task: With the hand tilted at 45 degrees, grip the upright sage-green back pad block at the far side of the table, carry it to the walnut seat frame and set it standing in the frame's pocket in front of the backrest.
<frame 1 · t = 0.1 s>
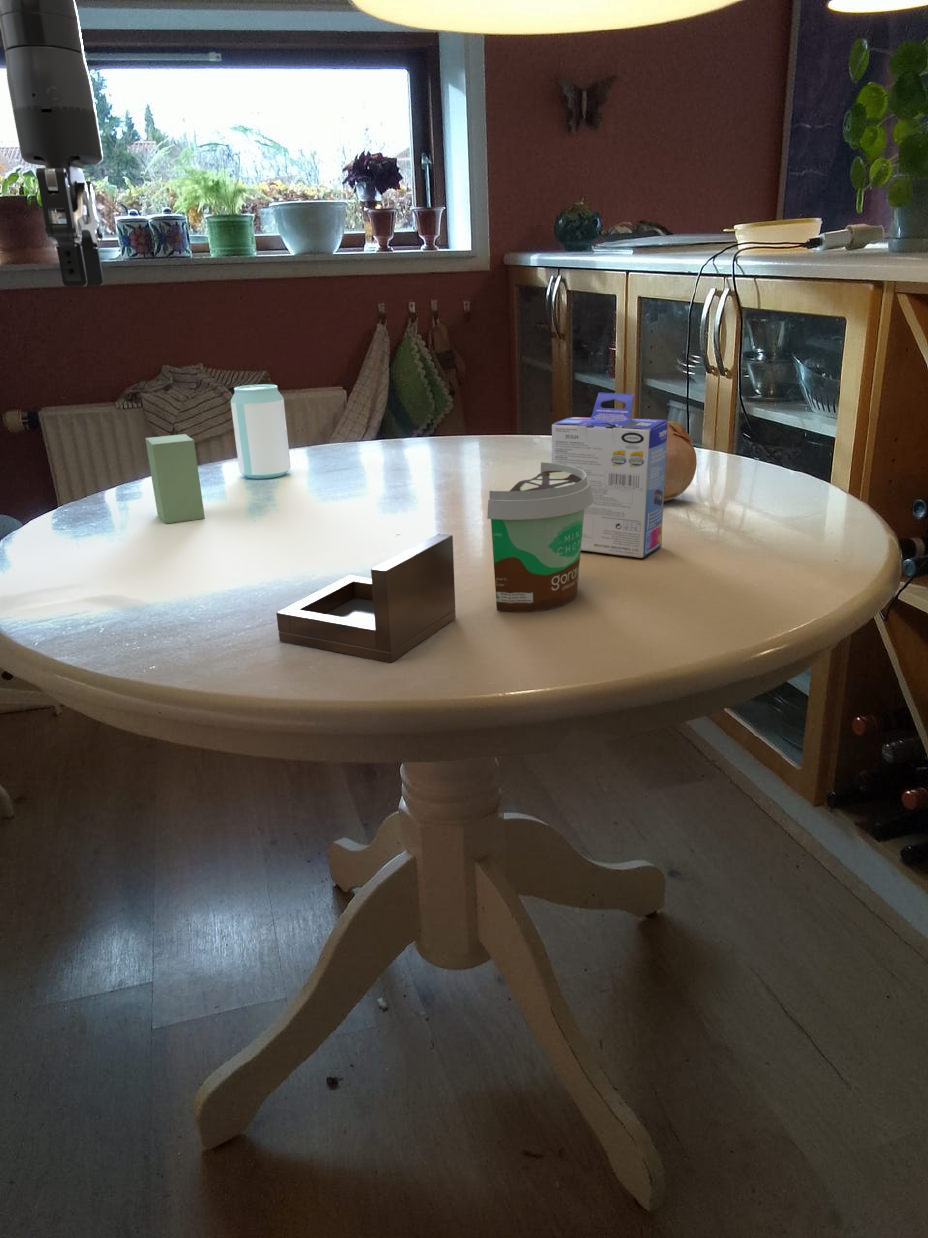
hand: (85, 286, 93), 25 cm above the table, tool pointing down, fingers open, 8 cm apart
can: (265, 475, 125), on the table
ink cartridge box: (606, 548, 87), on the table
seat frame: (369, 629, 69), on the table
food container: (552, 598, 74), on the table
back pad: (181, 516, 104), on the table
onion: (652, 501, 104), on the table
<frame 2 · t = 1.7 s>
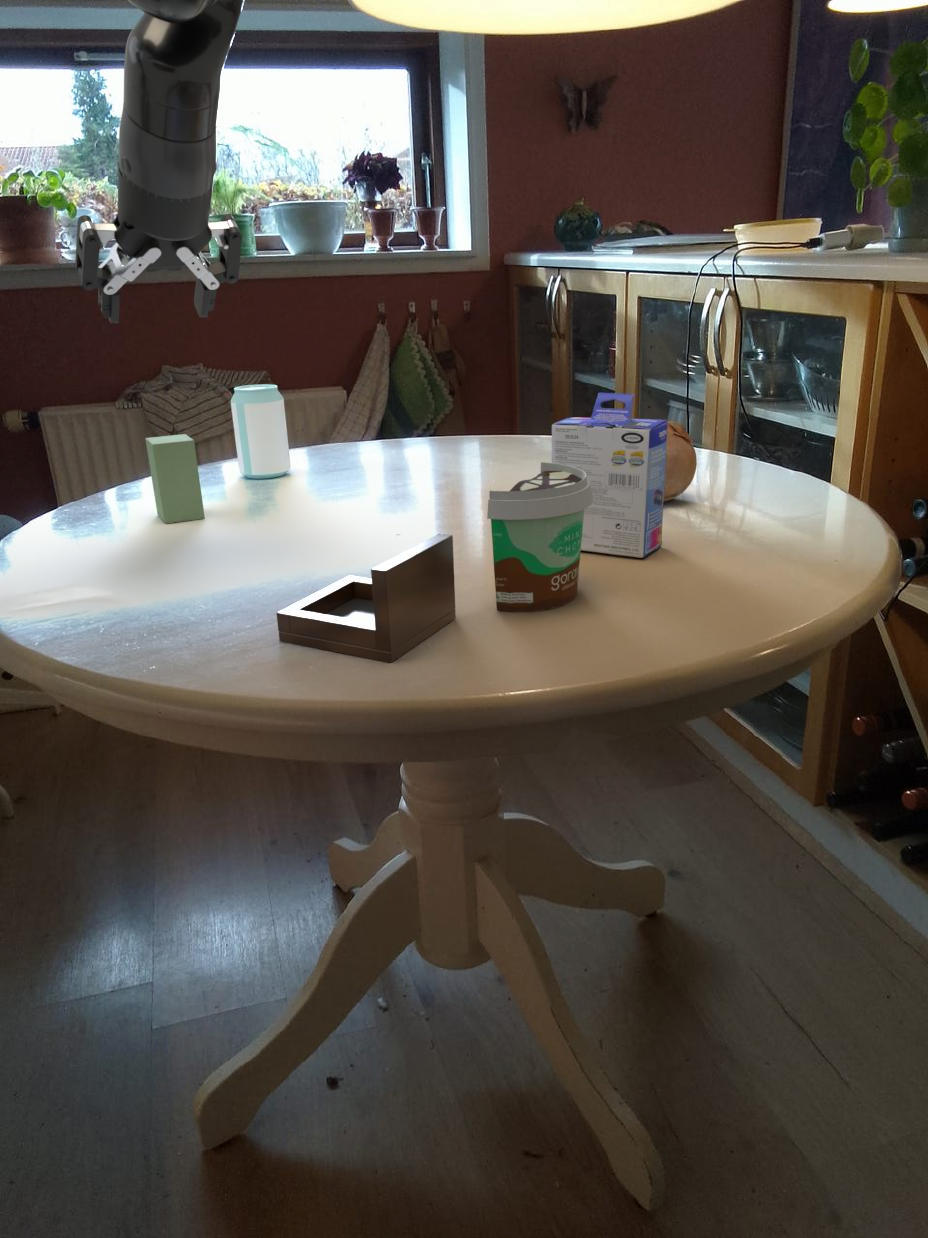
hand: (156, 313, 87), 23 cm above the table, tool tilted 45°, fingers open, 8 cm apart
nothing on the table moved.
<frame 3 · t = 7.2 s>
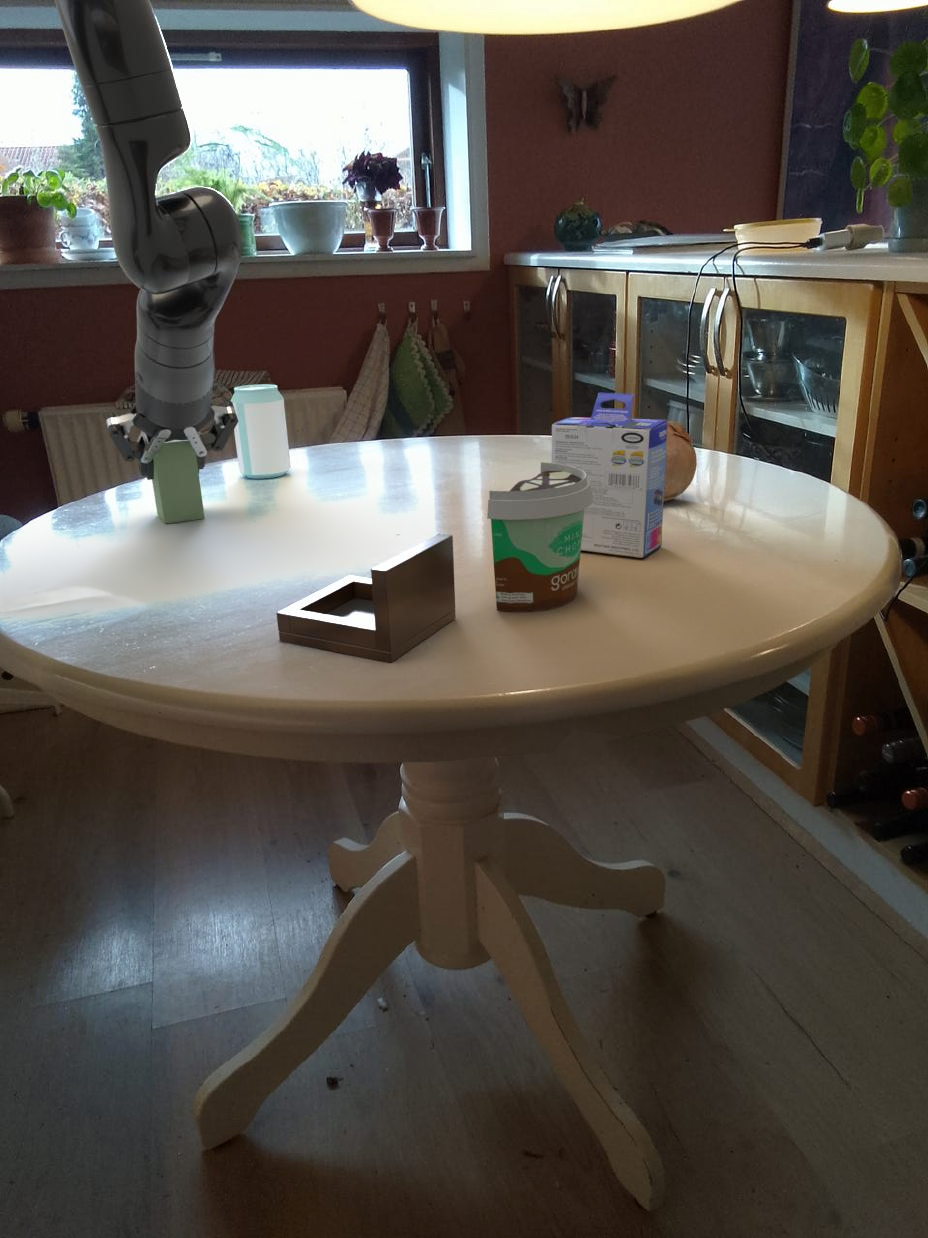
hand: (171, 470, 104), 5 cm above the table, tool tilted 45°, fingers closed on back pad, 4 cm apart
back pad: (180, 516, 104), on the table, touching gripper
everything else where it was.
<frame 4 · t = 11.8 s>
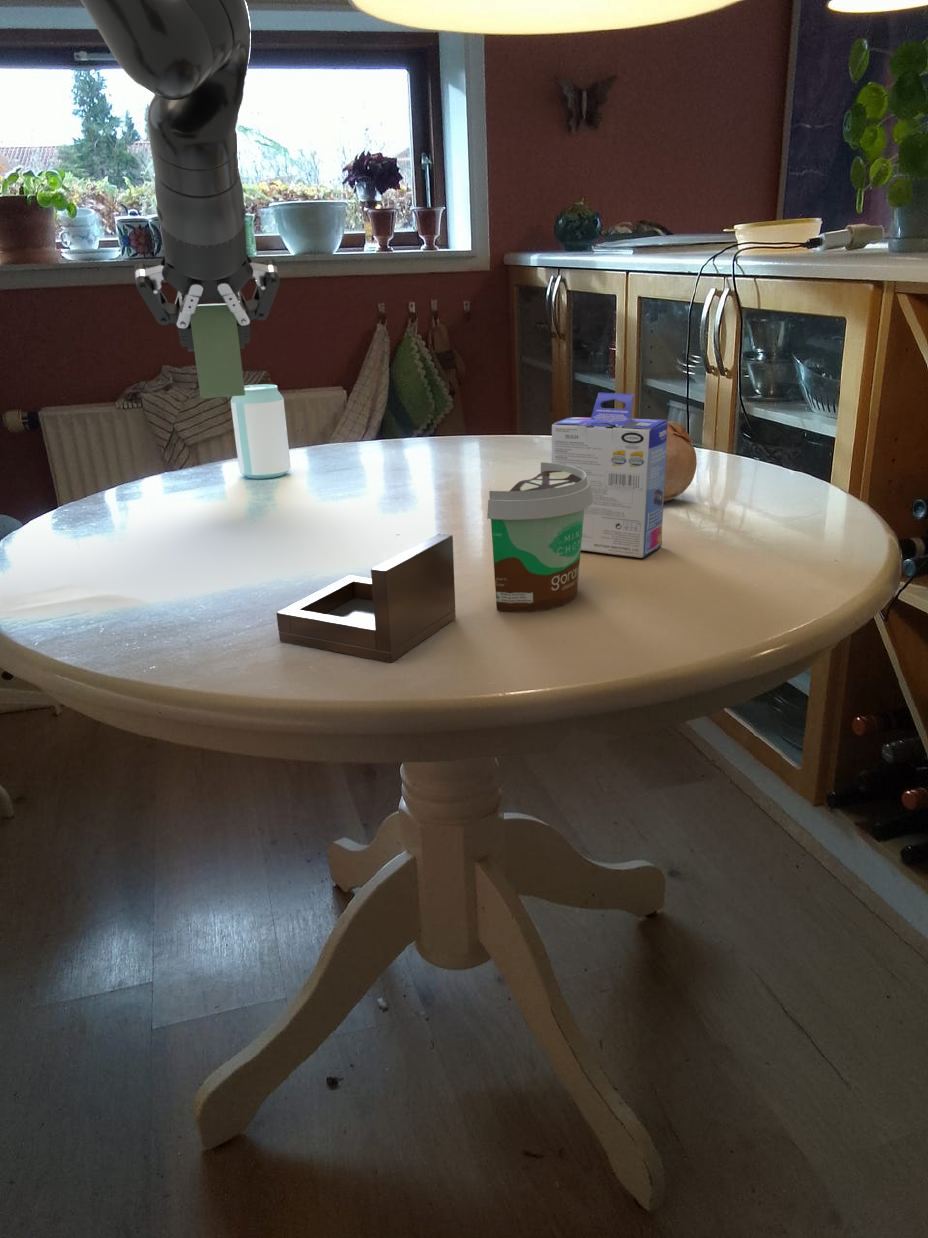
hand: (215, 342, 95), 19 cm above the table, tool tilted 45°, fingers closed on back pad, 4 cm apart
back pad: (222, 393, 95), point 14 cm above the table, touching gripper
everything else where it was.
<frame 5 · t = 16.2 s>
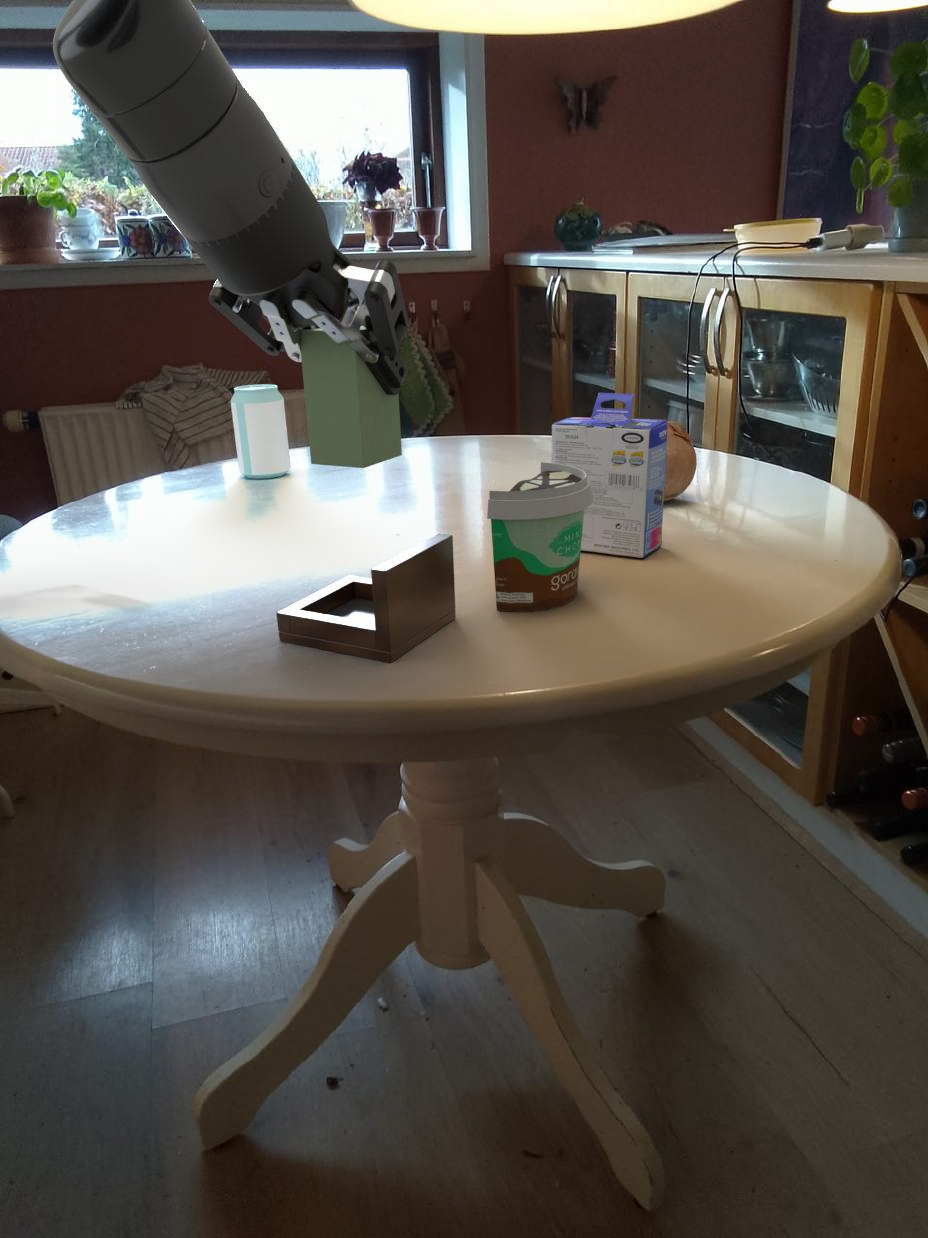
hand: (366, 383, 64), 18 cm above the table, tool tilted 45°, fingers closed on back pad, 4 cm apart
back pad: (357, 459, 64), point 13 cm above the table, touching gripper
everything else where it was.
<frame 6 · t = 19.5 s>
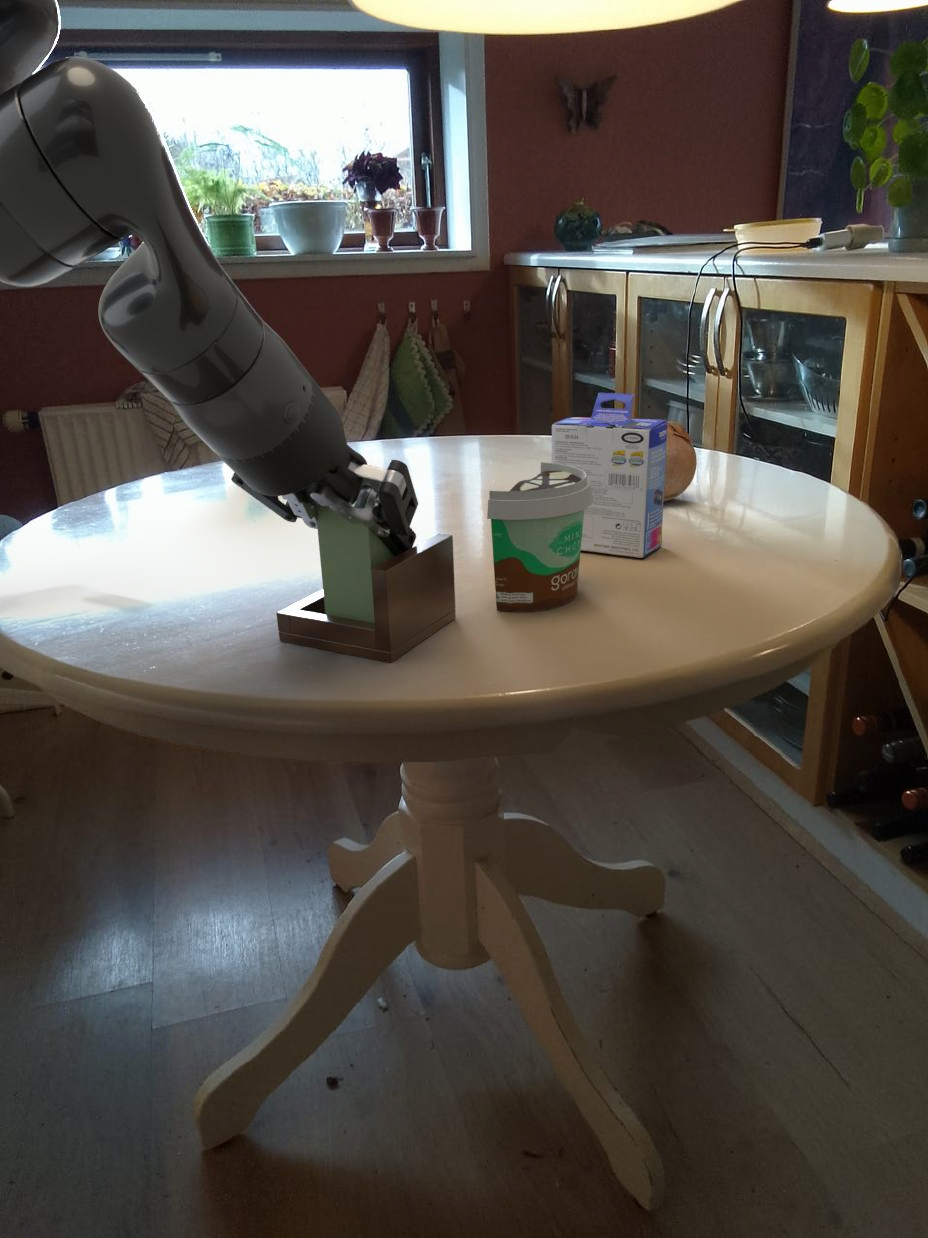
hand: (377, 543, 68), 6 cm above the table, tool tilted 45°, fingers closed on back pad, 4 cm apart
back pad: (369, 614, 68), point 1 cm above the table, touching gripper
everything else where it was.
when the fingers open (7 cm above the table, at t = 25.4 s): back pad drops 1 cm, resting on seat frame.
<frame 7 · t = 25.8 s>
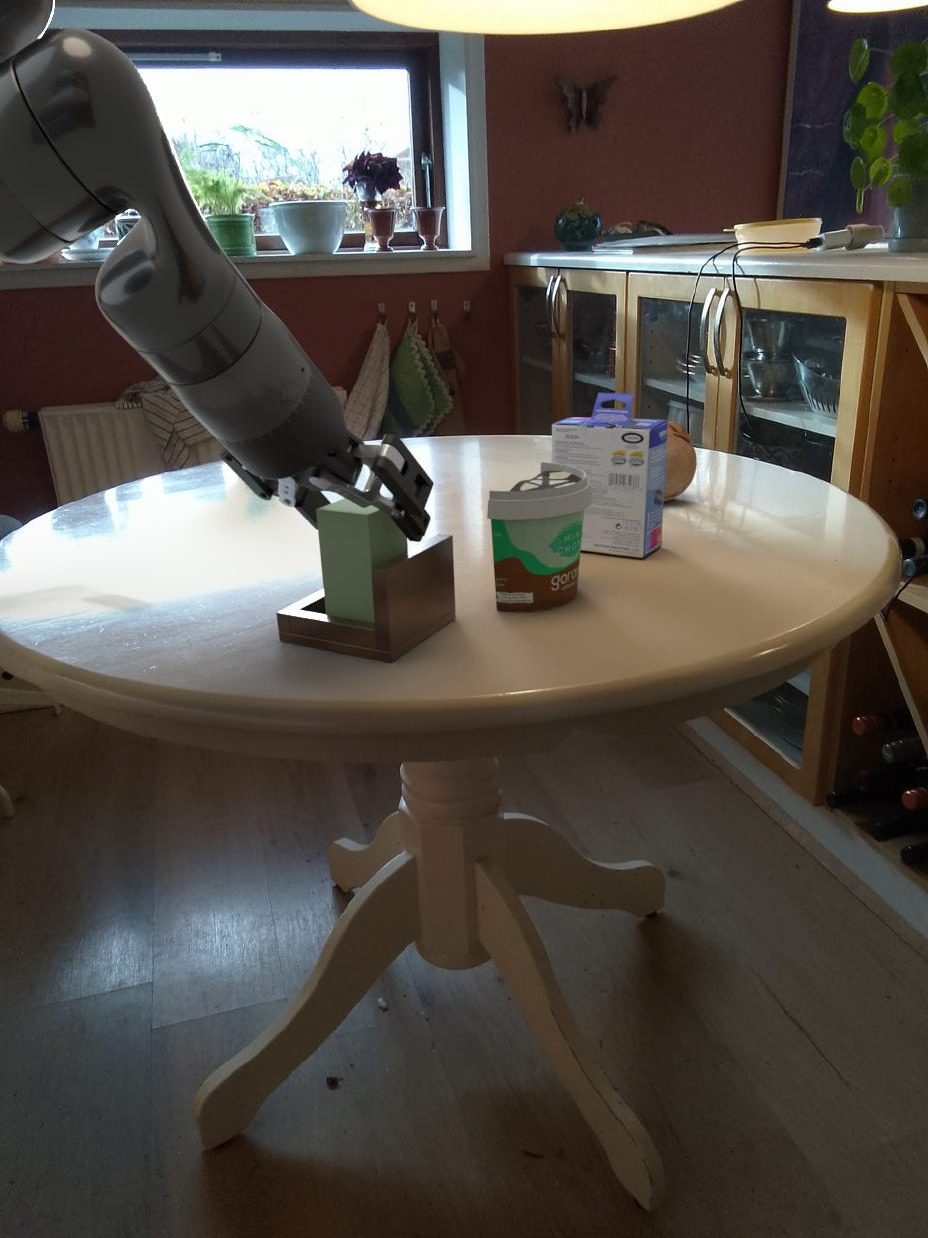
hand: (372, 525, 67), 8 cm above the table, tool tilted 45°, fingers open, 8 cm apart
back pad: (369, 618, 68), point 1 cm above the table, touching seat frame
everything else where it was.
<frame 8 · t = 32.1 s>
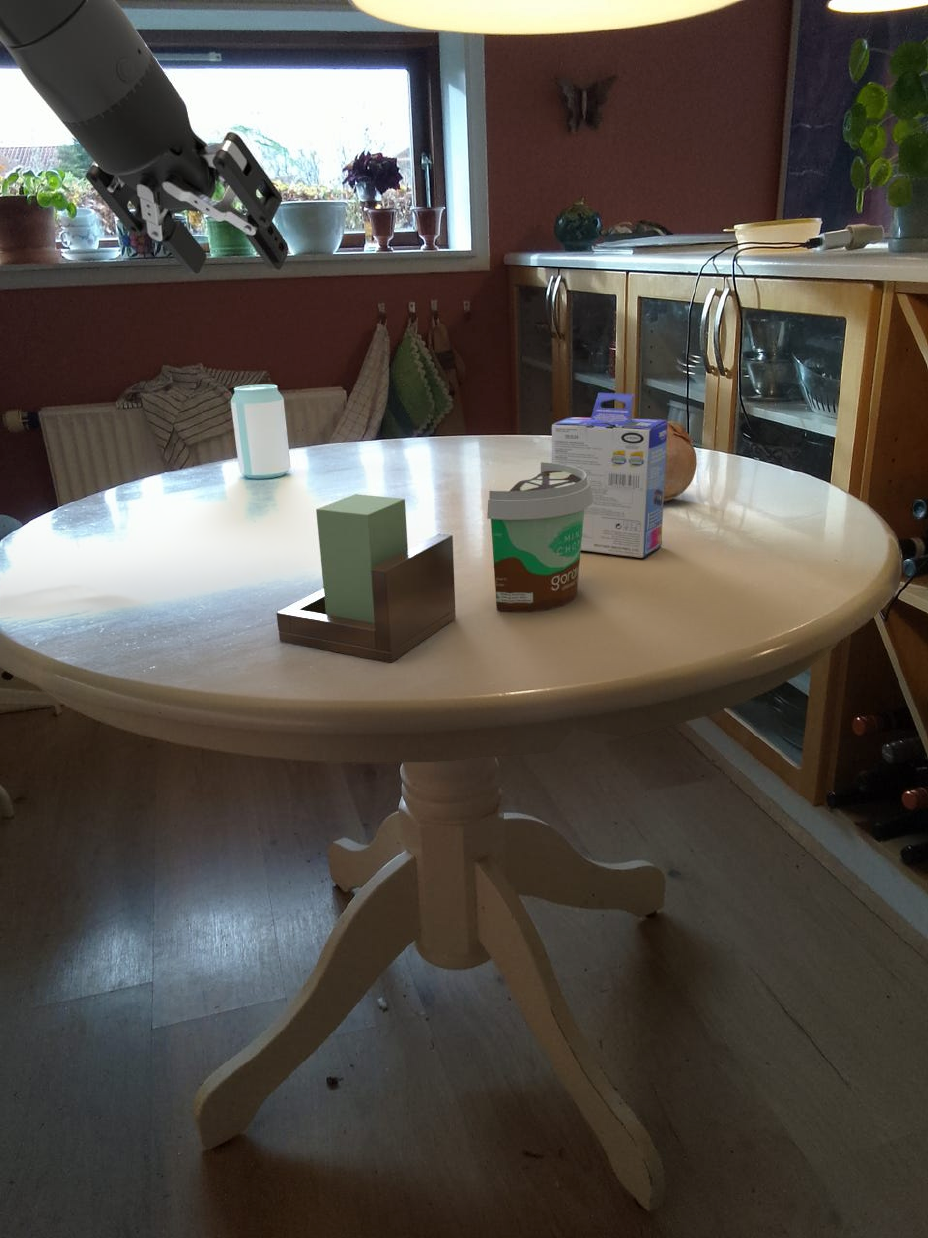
hand: (238, 263, 72), 27 cm above the table, tool tilted 45°, fingers open, 8 cm apart
nothing on the table moved.
at the end: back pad 0.1 cm off-centre on the seat frame, point 0.9 cm above the seat frame's base; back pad tilted 0°; the gripper is holding nothing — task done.
